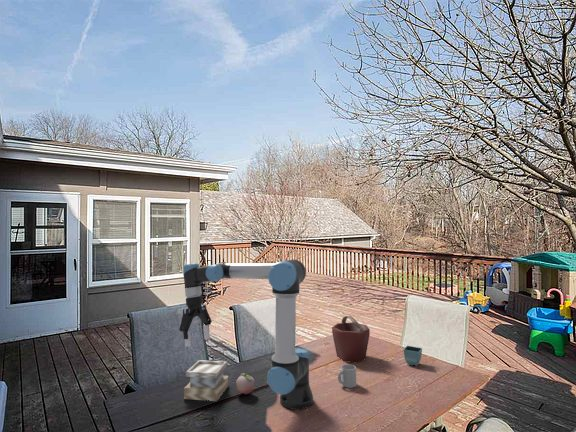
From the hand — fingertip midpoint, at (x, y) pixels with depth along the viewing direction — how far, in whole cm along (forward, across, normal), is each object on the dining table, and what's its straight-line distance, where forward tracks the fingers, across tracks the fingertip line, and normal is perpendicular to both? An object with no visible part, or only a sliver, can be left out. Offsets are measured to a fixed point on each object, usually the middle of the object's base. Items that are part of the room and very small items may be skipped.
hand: (197, 342), depth 161 cm
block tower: (+25, -8, -4) cm, 27 cm away
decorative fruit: (+28, -14, +14) cm, 34 cm away
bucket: (+31, -82, +47) cm, 100 cm away
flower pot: (+36, -87, +83) cm, 125 cm away
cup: (+34, -43, +55) cm, 77 cm away
